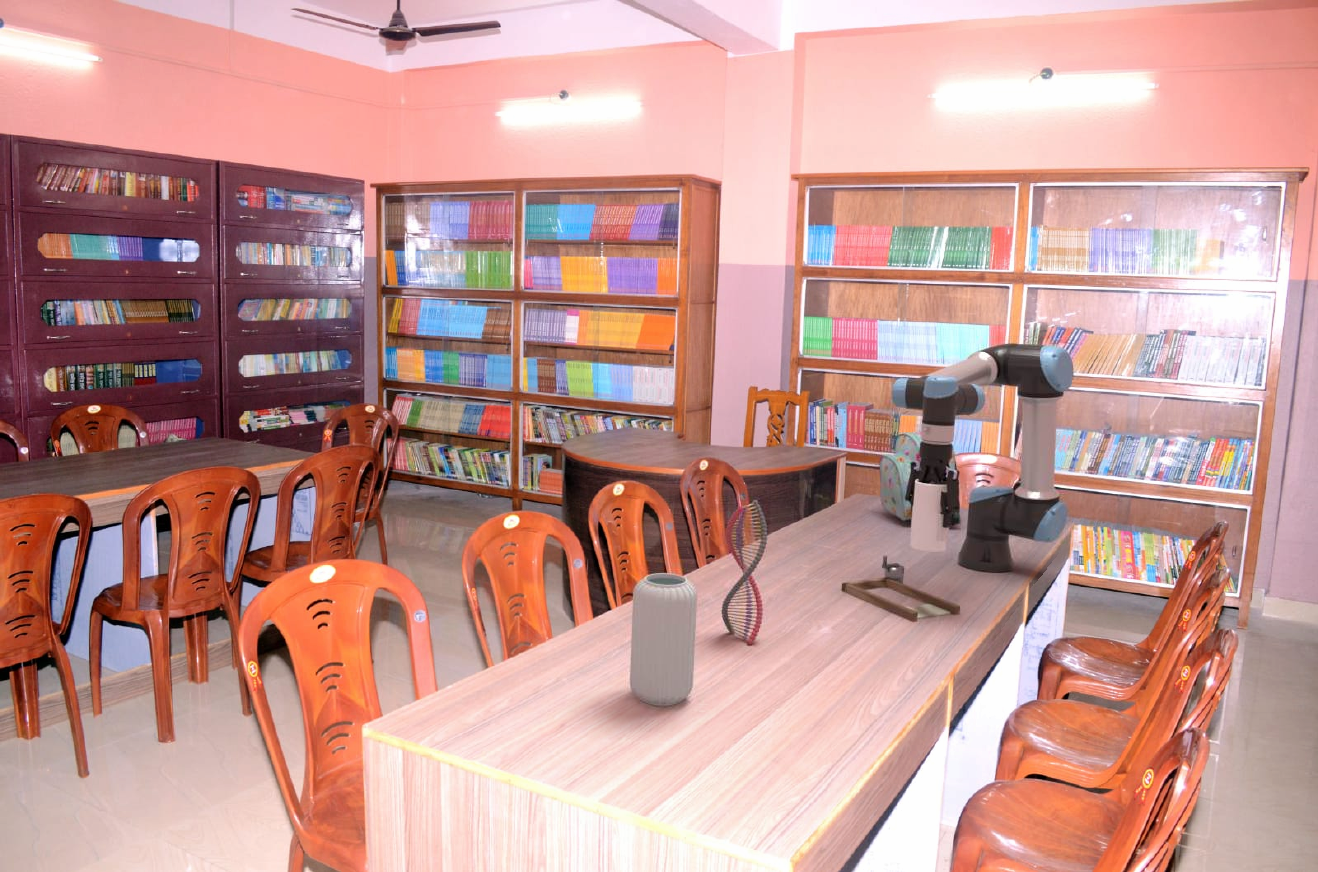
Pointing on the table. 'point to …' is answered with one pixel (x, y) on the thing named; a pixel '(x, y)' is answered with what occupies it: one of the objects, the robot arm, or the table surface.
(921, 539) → the cup
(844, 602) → the table surface
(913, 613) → the frame
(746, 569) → the dna model
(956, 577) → the table surface
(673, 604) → the vase
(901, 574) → the winch drum
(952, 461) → the backpack
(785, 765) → the table surface
